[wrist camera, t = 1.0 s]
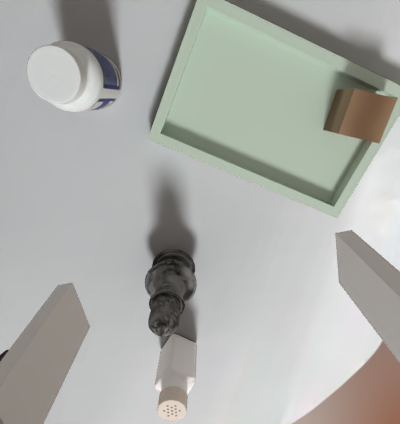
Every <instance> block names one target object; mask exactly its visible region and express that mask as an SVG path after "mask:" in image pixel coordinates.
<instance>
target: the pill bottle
mask: <svg viewBox="0 0 400 424" xmlns="http://www.w3.org/2000/svg"><path fill="white" fill-rule="evenodd" d="M27 76H28V80H29V83H30V85H31V87H32V88H33V90H34V91H35V92H36V93H37V94H38V95H39V96H40V97H41V98H43V99H44V100H46V101H48V102H50V103H51V104H53V105H54V106H56V107H57V108H59V109H62V110H65V111H69V112H81V111H90V110H100V109H104V108H107V107H109V106H111V105H112V104H113V103H114V102H115V101H116V100H117V98H118V96H119V94H120V91H121V85H122V84H121V76H120V73H119V70H118V69H117V67H116V65H115V64H114V63H113V62H112V61H111V60H110V59H109V58H108V57H106V56H104V55H103V54H101V53H98V52H96V51H94V50H91V49H89V48H87V47H84V46H82V45H80V44H78V43H74V42H71V41H58V42H55V43H52V44H50V45H45V46H42V47H39V48H37V49H36V50H35V51H34V52H33V53H32V54H31V56H30V58H29V60H28V63H27Z"/></svg>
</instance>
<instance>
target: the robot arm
mask: <svg viewBox="0 0 400 424" xmlns="http://www.w3.org/2000/svg"><path fill="white" fill-rule="evenodd" d="M335 235H336V249H337V262H338V276H339V283H340V285H341V286H342V287H343V289H344V290H345V291H346V292H347V294H348V295H349V296H350V298H351V299H352V300H353V302H354V303H355V304H356V306H357V307H358V308H359V310H360V311H361V312H362V314H363V315H364V316H365V318H366V319H367V320H368V322H369V323H370V324H371V326H372V327H373V328H374V329H375V331H376V332H377V333H378V335H379V336H380V337H381V339H382V340H383V341H384V343H385V344H386V345H387V347H388V348H389V349H390V350H391V352H392V353H393V354H394V356H395V357H396V359H397V360H398V361H399V363H400V272H399V271H398V270H397V269H396V268H395V267H394V266H392V265H391V264H390V263H389V262H388V261H387V260H386V259H384V258H383V257H382V256H381V255H380V254H379V253H377V252H376V251H375V250H374V249H373V248H372V247H371V246H369V245H368V244H367V243H366V242H365V241H364V240H362V239H361V238H360V237H359V236H358V235H357V234H356V233H354V232H353V231H352V230H350V231H345V232H339V233H335ZM89 328H90V326H89V323H88V321H87V318H86V315H85V313H84V310H83V308H82V305H81V303H80V300H79V298H78V295H77V293H76V290H75V288H74V285H73V283H68V284H63V285H58V286H57V287H56V289H55V290H54V291H53V293H52V294H51V295H50V297H49V298H48V299H47V301H46V302H45V303H44V305H43V306H42V307H41V308H40V310H39V311H38V312H37V314H36V315H35V316H34V318H33V319H32V320H31V322H30V323H29V324H28V326H27V327H26V328H25V330H24V331H23V332H22V334H21V335H20V336H19V338H18V339H17V340H16V341H15V343H14V344H13V345H12V347H11V348H10V349H9V350H6V351H5V352H3V353H2V354H1V355H0V424H43V423H44V421H45V419H46V417H47V415H48V413H49V411H50V409H51V407H52V405H53V403H54V400H55V398H56V396H57V394H58V392H59V390H60V388H61V386H62V384H63V382H64V380H65V378H66V375H67V373H68V371H69V369H70V367H71V365H72V363H73V361H74V359H75V357H76V355H77V353H78V351H79V348H80V346H81V344H82V342H83V340H84V338H85V336H86V334H87V332H88V330H89Z"/></svg>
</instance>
